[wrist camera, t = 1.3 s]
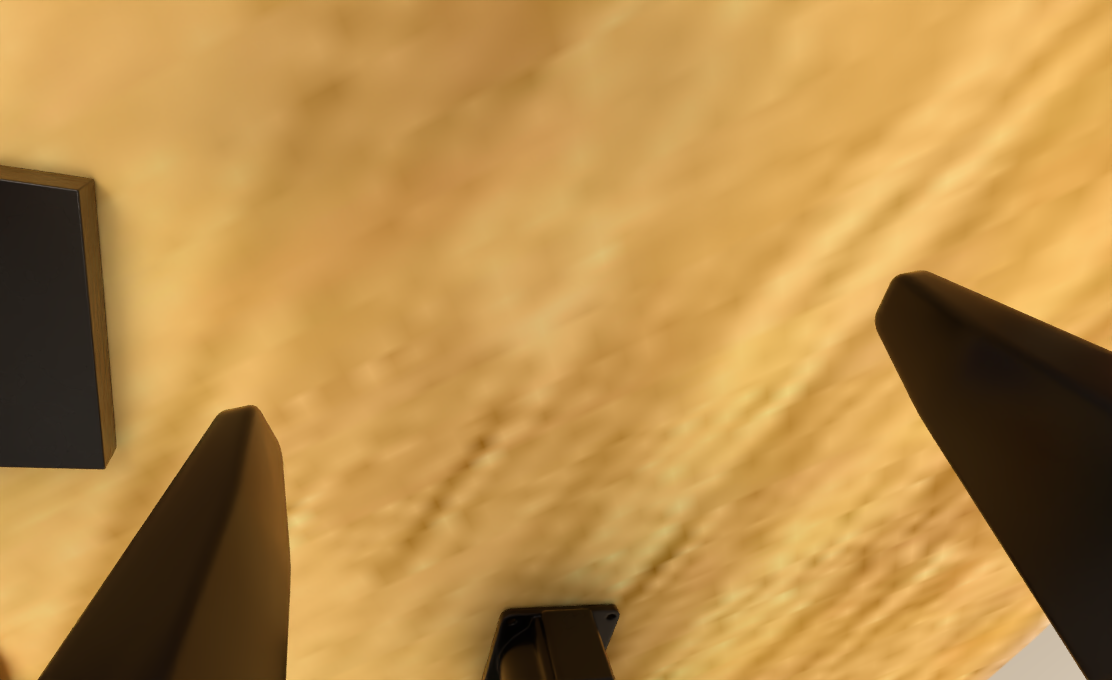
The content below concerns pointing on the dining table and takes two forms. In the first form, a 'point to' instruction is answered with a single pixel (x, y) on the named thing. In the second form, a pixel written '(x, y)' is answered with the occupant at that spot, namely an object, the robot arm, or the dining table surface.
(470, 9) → the dining table surface
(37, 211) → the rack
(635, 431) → the dining table surface
